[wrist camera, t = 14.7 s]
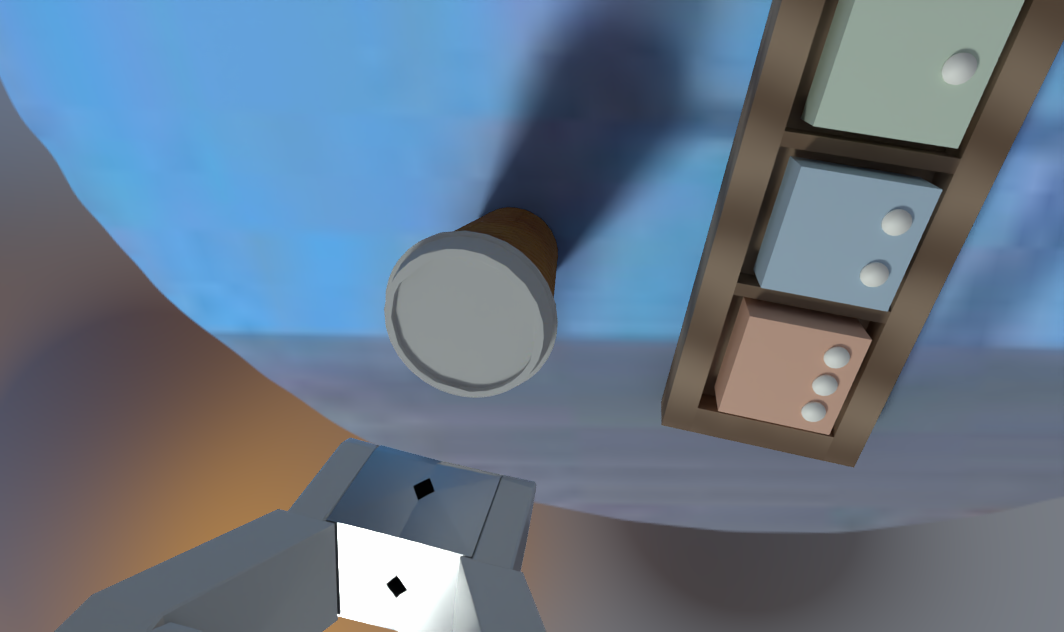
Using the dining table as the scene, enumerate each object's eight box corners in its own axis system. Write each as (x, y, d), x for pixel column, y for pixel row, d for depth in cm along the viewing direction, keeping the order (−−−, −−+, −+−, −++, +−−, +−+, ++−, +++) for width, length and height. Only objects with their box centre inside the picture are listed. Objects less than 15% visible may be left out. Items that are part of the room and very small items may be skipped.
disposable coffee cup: (571, 175, 38) (538, 230, 27) (588, 309, 42) (564, 403, 31) (435, 191, 40) (354, 247, 29) (462, 316, 44) (400, 407, 33)
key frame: (799, -99, 30) (813, -113, 27) (1078, -68, 28) (1121, -79, 25) (661, 401, 44) (661, 424, 41) (841, 440, 42) (853, 467, 39)
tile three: (743, 296, 38) (750, 317, 35) (856, 317, 37) (873, 341, 34) (714, 386, 41) (718, 412, 38) (817, 408, 40) (830, 436, 37)
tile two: (790, 155, 33) (802, 167, 30) (919, 176, 32) (944, 190, 30) (753, 269, 36) (761, 288, 34) (870, 290, 36) (888, 313, 33)
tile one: (847, -26, 29) (867, -32, 27) (995, -7, 29) (1032, -12, 26) (800, 118, 33) (814, 126, 30) (932, 139, 32) (959, 149, 29)
